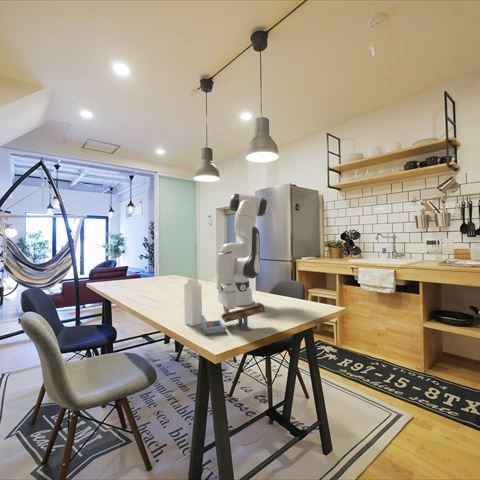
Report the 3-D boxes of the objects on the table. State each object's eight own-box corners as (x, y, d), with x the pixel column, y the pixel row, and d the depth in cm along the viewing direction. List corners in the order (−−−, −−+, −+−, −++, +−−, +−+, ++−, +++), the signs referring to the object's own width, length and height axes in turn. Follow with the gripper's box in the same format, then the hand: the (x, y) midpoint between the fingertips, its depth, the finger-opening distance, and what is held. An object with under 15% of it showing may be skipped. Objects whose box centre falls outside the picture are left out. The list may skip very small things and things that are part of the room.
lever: (256, 308, 138) (255, 299, 138) (265, 314, 126) (264, 305, 126) (220, 318, 132) (218, 309, 132) (226, 325, 121) (224, 315, 121)
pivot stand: (243, 323, 132) (243, 310, 132) (250, 330, 122) (250, 315, 122) (235, 324, 131) (235, 310, 131) (242, 331, 121) (241, 316, 121)
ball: (208, 329, 123) (202, 325, 123) (213, 323, 124) (207, 319, 123) (210, 332, 120) (203, 327, 119) (215, 325, 121) (208, 321, 120)
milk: (202, 323, 134) (201, 278, 134) (192, 326, 129) (192, 279, 129) (193, 321, 138) (193, 277, 138) (184, 323, 133) (183, 278, 133)
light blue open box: (201, 328, 126) (201, 315, 126) (220, 326, 128) (220, 313, 128) (204, 335, 116) (204, 321, 116) (225, 333, 119) (225, 319, 119)
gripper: (214, 282, 139) (215, 309, 139) (224, 289, 119) (225, 320, 119) (226, 281, 141) (227, 308, 141) (238, 288, 121) (239, 319, 121)
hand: (226, 314), depth 130 cm, fingers closed, pressing on lever
